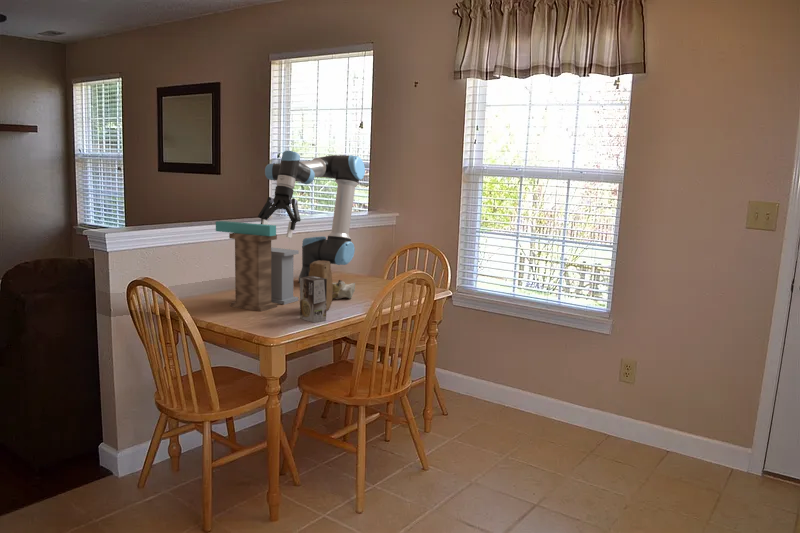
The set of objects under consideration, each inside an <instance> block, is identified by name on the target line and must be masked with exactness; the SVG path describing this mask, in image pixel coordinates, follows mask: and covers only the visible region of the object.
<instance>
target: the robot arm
mask: <svg viewBox="0 0 800 533" xmlns="http://www.w3.org/2000/svg"><path fill="white" fill-rule="evenodd" d="M280 158H281V159H280V163H275V162H274V163H268V164H267V165H266V166H265V168H264V175H265V178H266V179H267V180H269V181H276V186H275V190H274V197H270V196H268V197H267V200H266V202H265V204H264V205H263V207H262V209H261V210H260V212H259V213H258V215H257V217H258V218H259V219H261V220H260V224H264V225H269V224H268V222H269V220H268V219H269V218H270V217H272V215H273V214H274V213H275V212H276V211H278V210H285V211H286V213H287V215H288V218H289V219H290V221H288V225H287V231H286V235H285V236H286V238H288V239H292V238H293V232H294V231H295V229H296V225H297V222H298V223H300V222H301V221H302V220H301V214H300V211H299V207H298V201H299V200H298V199H296V198H294V197H293V196H294V189H295V185H296V182H299V183H301V184H304V185H309V184H311V183H312V182H314V179H315V178H325V179H334V181H335V183H336V185H337V188H336V195H335V202H334V203H335V204H334V210H333V218H332V226H331V232H330V233H329V234H327V237H326V236H324V235H322V236H311V237H305V238H304V239H303V240H302V246H301V248H302V249H301V250H302V254H301V255H302V256H301V257H302V258H301V260H302V261H301V264H302V265H301V266H302V267H301V269H300V273H299V276H298V284H300V278H301V277H307V276H309V272H310V264H311V263H312V262H314V261H318V260H320V261H329V262H330V264H331V265H336V266H337V265H338V266H340V265H341V266H346V265H348V264H350V263H351V261H352V260H353V258H354V256H355V250H356V248H355V244H354V243H353V242H352V238H351V237H350V234H349V233H350V226H351V220H352V212H353V204H354V197H355V191H356V187H357V186H359V184H360V183H359V182H360V181H361V180H363V179H364V177H365V174H366V168H365V164H364V161H363V159H362V158H361V157H360V156H359V155H352V154H351V155H345V154H344V155H342V154H338V155H336V154H335V155H332V154H330V155H325V156H321V157H315V158H313V159H312V160H303V161H301V160H300V158H301V155H300V154H299V153H298V152H296V151H294V150H285V151H283V152H282V156H281V157H280ZM290 205H291V206H290ZM291 207H292V208H291Z"/></svg>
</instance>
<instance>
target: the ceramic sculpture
mask: <svg viewBox="0 0 800 533" xmlns="http://www.w3.org/2000/svg"><path fill="white" fill-rule="evenodd" d="M332 283H333V288H332V300H334V299H335V300H339V299H340V300H341V299H342V298H347V299H352V298H353V296H354V293H355V289H356V282H352V283H349V284H347V283H345V281H343V280H341V279H339V280H338V281H337V282H332Z"/></svg>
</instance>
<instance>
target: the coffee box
mask: <svg viewBox="0 0 800 533" xmlns="http://www.w3.org/2000/svg"><path fill="white" fill-rule="evenodd" d="M326 300H327V279H325V278H321V277H316V276H307V277H301V278H300V283H299V305H300V306H299V318H300V319H302V320H305V321H308V322H311V323H319V322H323V321H324V322H325V321H327V311H326Z"/></svg>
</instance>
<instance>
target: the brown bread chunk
mask: <svg viewBox="0 0 800 533" xmlns="http://www.w3.org/2000/svg"><path fill="white" fill-rule="evenodd" d="M309 276H316V277H321V278H325V279H327V300H326V312H327V311H329V309H330V308H331V305H332V302H333V299H332V288H333V283H334V282H333V273H332V264H330V262H329V261H320V260H318V261H314V262H312V263H311V264H310V272H309Z"/></svg>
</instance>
